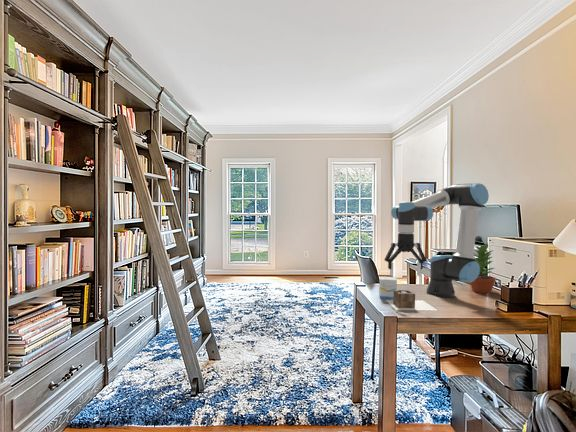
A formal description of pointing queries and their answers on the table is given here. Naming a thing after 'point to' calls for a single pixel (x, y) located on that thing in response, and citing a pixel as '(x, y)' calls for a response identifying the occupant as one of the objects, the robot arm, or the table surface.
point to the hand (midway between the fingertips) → (405, 275)
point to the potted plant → (483, 272)
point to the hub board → (418, 306)
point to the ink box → (387, 287)
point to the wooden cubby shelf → (404, 299)
